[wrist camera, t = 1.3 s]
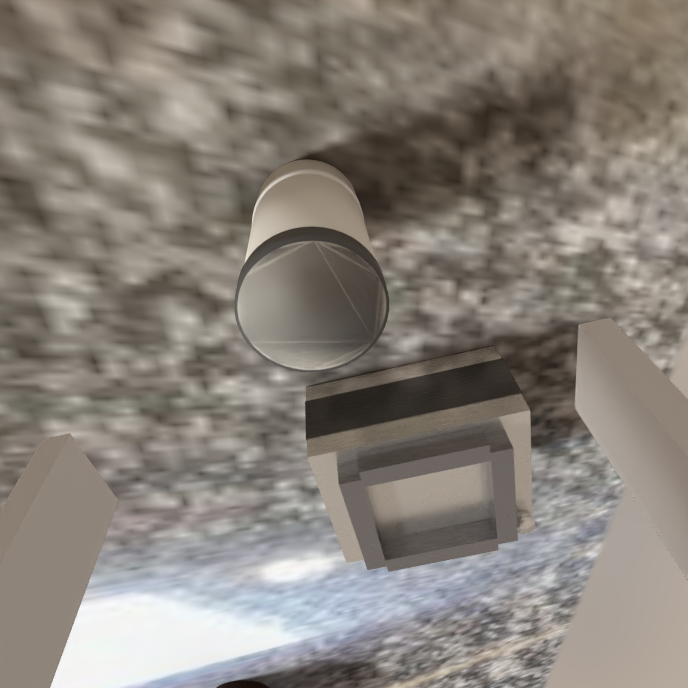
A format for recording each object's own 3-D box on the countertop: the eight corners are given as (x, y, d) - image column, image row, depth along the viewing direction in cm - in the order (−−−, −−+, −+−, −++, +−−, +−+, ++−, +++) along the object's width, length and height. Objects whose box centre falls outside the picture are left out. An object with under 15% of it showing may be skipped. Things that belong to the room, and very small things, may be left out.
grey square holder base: (339, 489, 38) (348, 583, 32) (305, 386, 33) (306, 477, 27) (502, 456, 38) (541, 545, 32) (494, 344, 32) (541, 427, 26)
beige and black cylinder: (272, 270, 28) (261, 385, 20) (239, 172, 25) (211, 259, 17) (369, 247, 28) (400, 354, 20) (348, 145, 25) (374, 220, 17)
